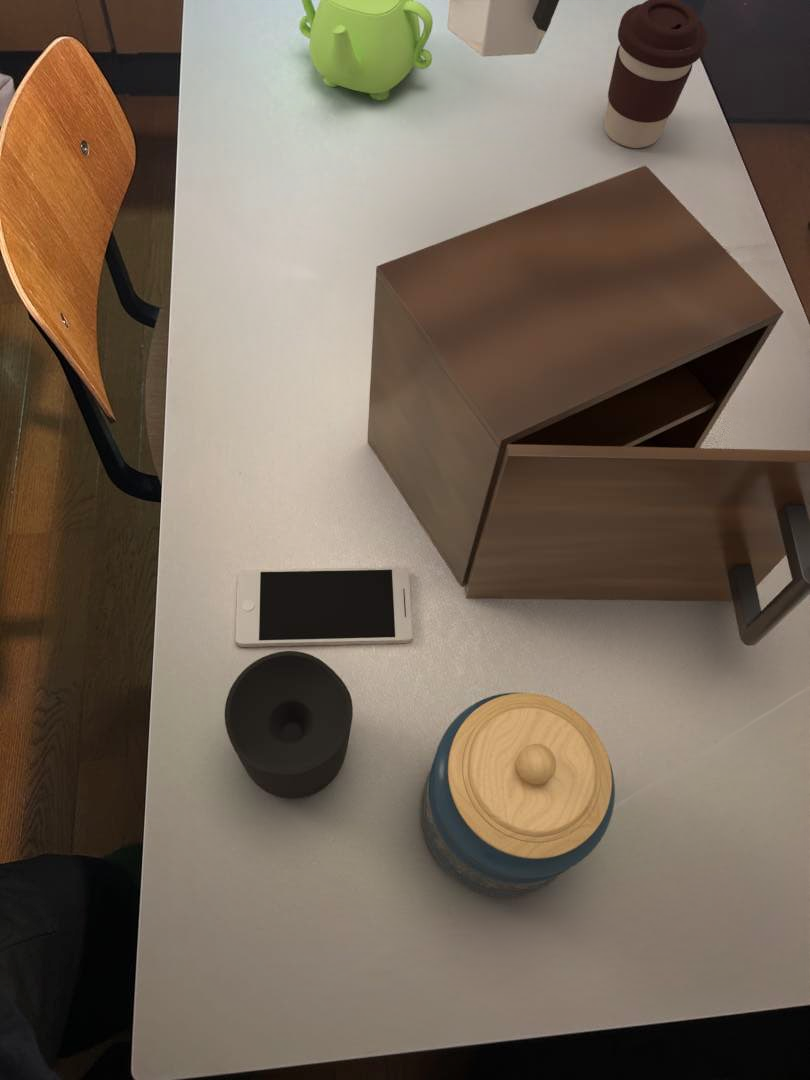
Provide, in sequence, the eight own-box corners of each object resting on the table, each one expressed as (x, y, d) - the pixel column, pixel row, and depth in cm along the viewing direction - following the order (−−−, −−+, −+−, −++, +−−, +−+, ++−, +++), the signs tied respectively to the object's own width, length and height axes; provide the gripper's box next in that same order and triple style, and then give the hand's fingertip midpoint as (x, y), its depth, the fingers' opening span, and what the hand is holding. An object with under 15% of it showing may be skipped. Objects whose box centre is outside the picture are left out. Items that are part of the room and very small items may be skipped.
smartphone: (238, 573, 85) (237, 569, 84) (408, 570, 86) (408, 566, 85) (236, 647, 81) (235, 643, 80) (412, 643, 83) (413, 639, 82)
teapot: (441, 107, 117) (453, 9, 106) (333, 127, 114) (333, 28, 102) (397, 29, 124) (404, -71, 112) (294, 45, 120) (290, -55, 109)
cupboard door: (757, 670, 83) (898, 548, 63) (469, 669, 82) (515, 543, 61) (741, 591, 87) (869, 451, 66) (465, 588, 85) (506, 443, 65)
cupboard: (682, 476, 93) (784, 311, 72) (460, 587, 86) (501, 440, 64) (580, 349, 100) (645, 164, 79) (366, 442, 92) (376, 266, 71)
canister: (508, 937, 72) (556, 909, 56) (386, 818, 75) (399, 762, 60) (608, 812, 77) (677, 755, 61) (489, 706, 80) (525, 627, 65)
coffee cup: (585, 104, 119) (616, -13, 105) (660, 103, 120) (700, -13, 107) (601, 158, 114) (635, 43, 101) (678, 156, 115) (723, 42, 102)
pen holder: (351, 693, 80) (353, 651, 71) (350, 804, 76) (352, 774, 67) (241, 693, 80) (229, 650, 71) (233, 805, 75) (220, 774, 66)
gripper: (472, -404, 65) (355, -58, 72) (758, -320, 61) (605, 37, 69) (494, -332, 72) (386, -23, 79) (752, -253, 68) (614, 65, 76)
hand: (487, 5), depth 74 cm, fingers closed on jar, 8 cm apart
